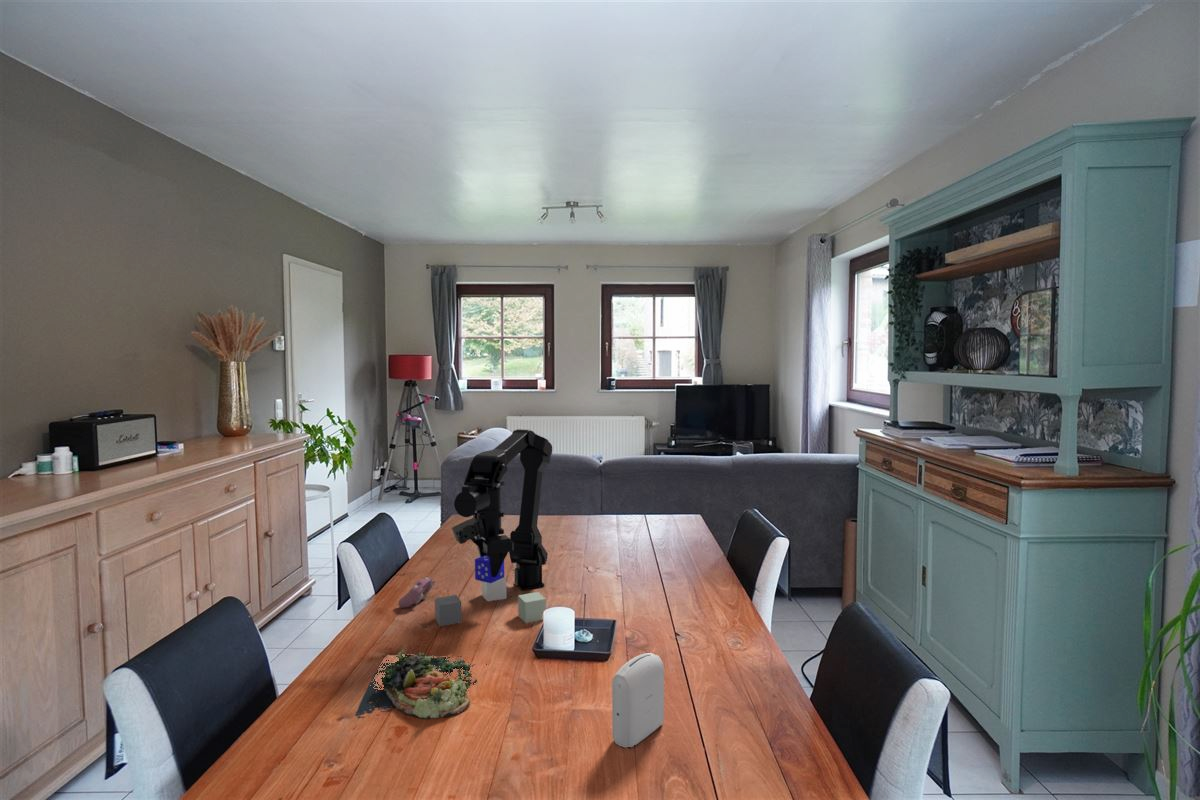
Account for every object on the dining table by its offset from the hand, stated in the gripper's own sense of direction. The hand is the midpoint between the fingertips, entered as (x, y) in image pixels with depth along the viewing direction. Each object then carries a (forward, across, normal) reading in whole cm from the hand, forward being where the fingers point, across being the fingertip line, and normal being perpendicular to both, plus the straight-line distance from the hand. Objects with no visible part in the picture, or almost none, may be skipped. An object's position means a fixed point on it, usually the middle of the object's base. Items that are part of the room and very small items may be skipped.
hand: (489, 572), depth 153 cm
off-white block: (+10, -10, +4) cm, 15 cm away
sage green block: (+10, +7, +8) cm, 15 cm away
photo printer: (+10, +59, +7) cm, 60 cm away
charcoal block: (+10, 0, -10) cm, 14 cm away
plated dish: (+11, +29, -20) cm, 37 cm away
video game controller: (+10, -15, -14) cm, 23 cm away
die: (+2, 0, 0) cm, 2 cm away
